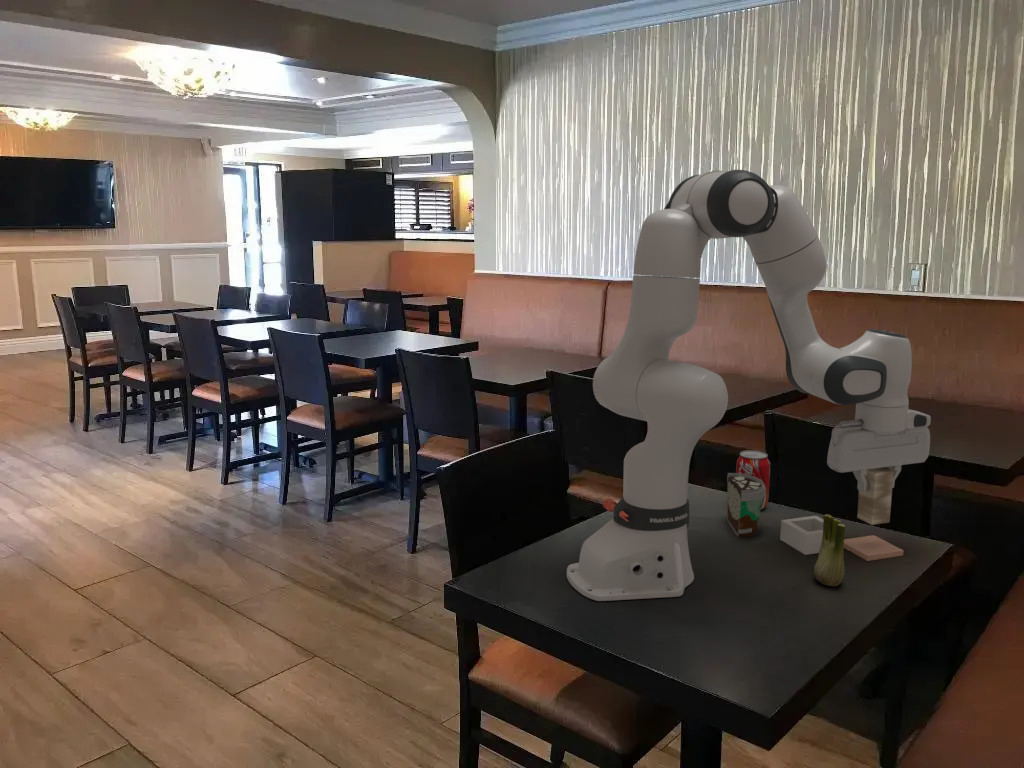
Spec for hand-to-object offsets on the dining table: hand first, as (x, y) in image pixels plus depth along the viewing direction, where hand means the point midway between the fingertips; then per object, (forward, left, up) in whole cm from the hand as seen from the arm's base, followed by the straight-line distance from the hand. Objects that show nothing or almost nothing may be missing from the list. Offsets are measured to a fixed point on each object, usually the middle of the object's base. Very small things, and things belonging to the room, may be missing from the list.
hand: (875, 489), depth 160 cm
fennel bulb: (-17, -10, -12) cm, 23 cm away
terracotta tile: (0, 0, -12) cm, 12 cm away
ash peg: (0, 0, -6) cm, 6 cm away
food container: (-16, +17, -12) cm, 26 cm away
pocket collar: (-9, +6, -12) cm, 16 cm away
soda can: (-8, +28, -12) cm, 32 cm away
